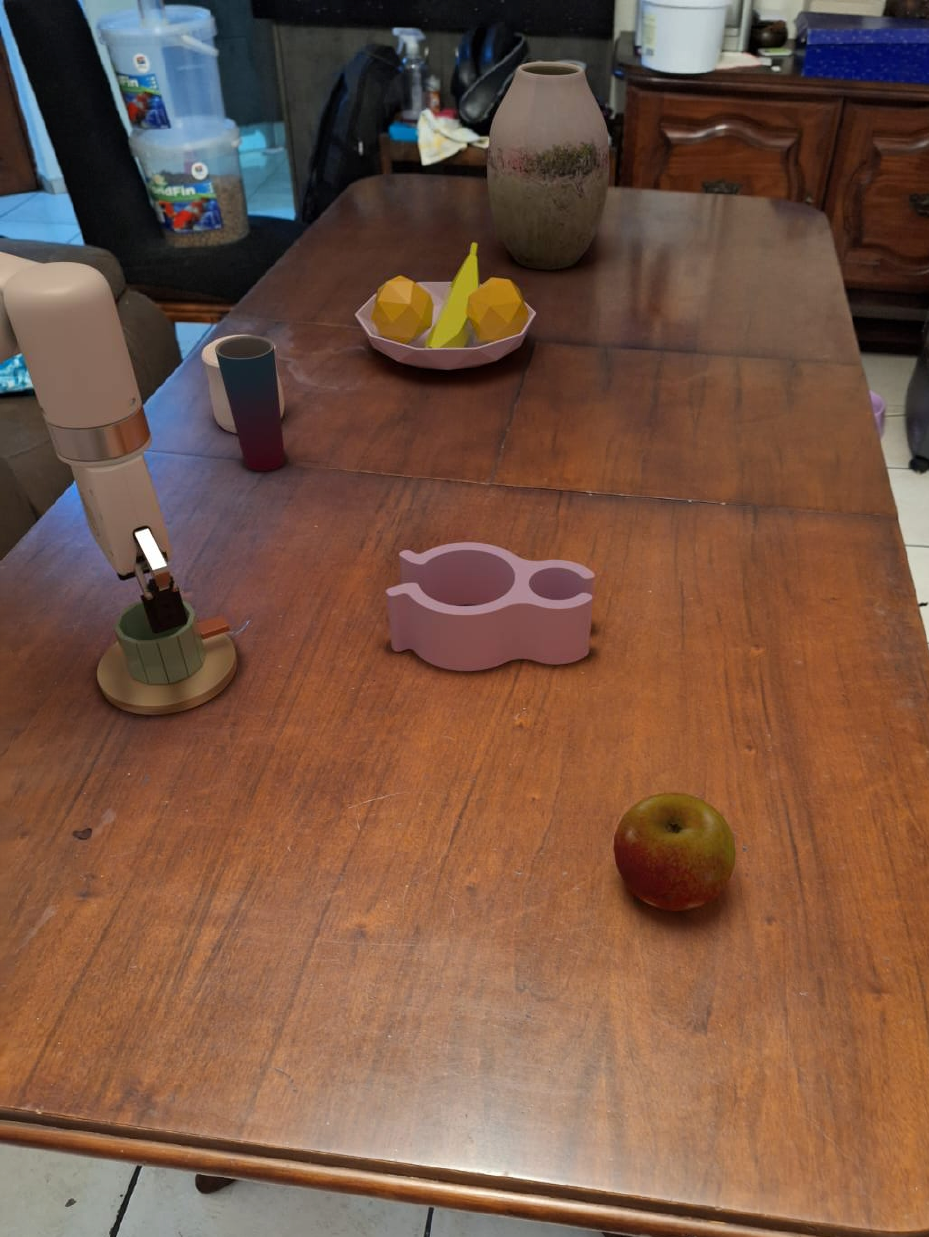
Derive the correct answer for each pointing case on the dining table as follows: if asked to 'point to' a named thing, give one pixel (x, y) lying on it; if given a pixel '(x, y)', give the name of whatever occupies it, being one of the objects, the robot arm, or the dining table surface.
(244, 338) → the cup
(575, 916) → the dining table surface
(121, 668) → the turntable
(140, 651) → the green mug
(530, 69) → the vase
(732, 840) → the fruit
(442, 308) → the fruit bowl
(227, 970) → the dining table surface
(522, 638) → the clip
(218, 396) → the cup
